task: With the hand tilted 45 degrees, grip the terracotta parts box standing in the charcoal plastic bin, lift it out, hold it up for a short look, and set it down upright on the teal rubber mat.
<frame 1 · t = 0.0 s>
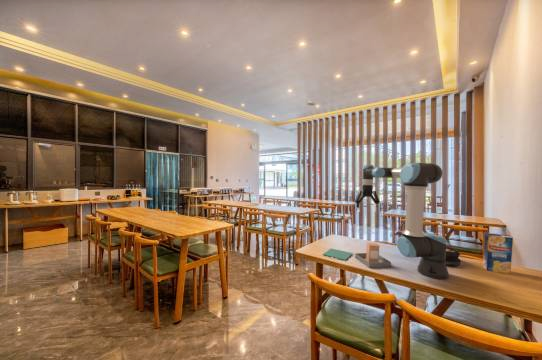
hand: (366, 211, 183), 28 cm above the table, tool pointing down, fingers open, 13 cm apart
mat: (337, 254, 166), on the table
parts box: (372, 253, 153), in the bin
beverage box: (496, 270, 145), on the table
casserole: (443, 260, 160), on the table
bin: (372, 262, 153), on the table
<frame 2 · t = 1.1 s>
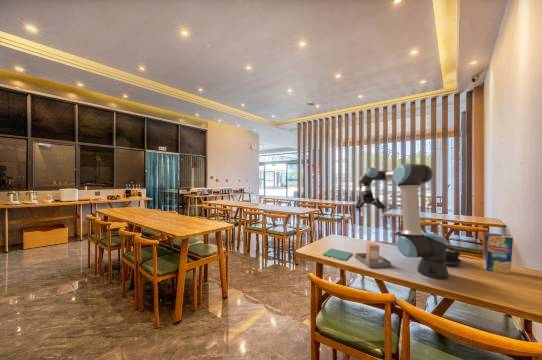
hand: (372, 216, 165), 28 cm above the table, tool tilted 45°, fingers open, 13 cm apart
nothing on the table moved.
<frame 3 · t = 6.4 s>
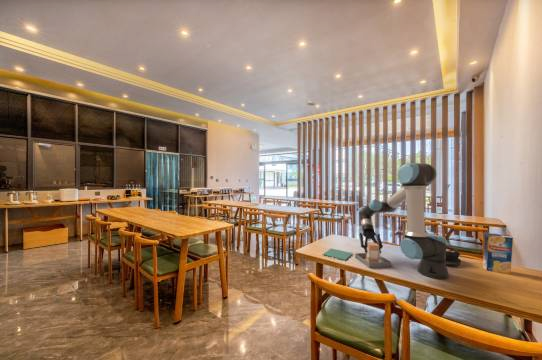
hand: (374, 257, 150), 4 cm above the table, tool tilted 45°, fingers closed on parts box, 6 cm apart
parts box: (372, 253, 153), in the bin, touching gripper
everything else where it was.
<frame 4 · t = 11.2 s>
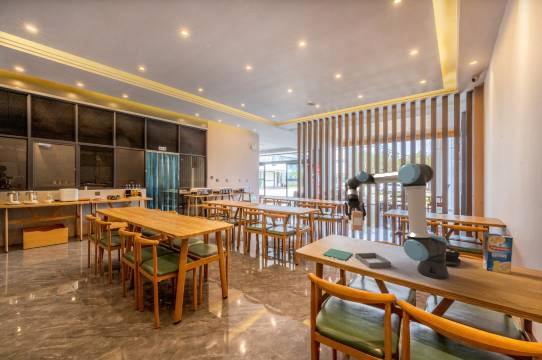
hand: (357, 224, 154), 24 cm above the table, tool tilted 45°, fingers closed on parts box, 6 cm apart
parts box: (356, 220, 158), point 26 cm above the table, touching gripper
everything else where it was.
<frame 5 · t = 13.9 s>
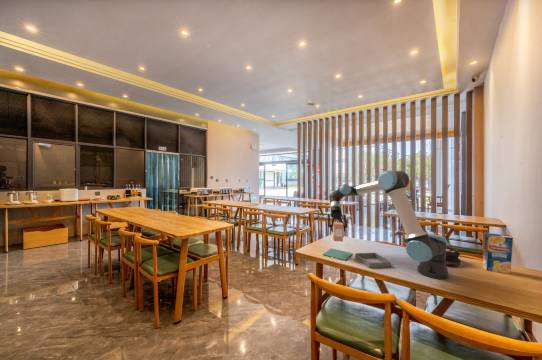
hand: (338, 235, 162), 15 cm above the table, tool tilted 45°, fingers closed on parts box, 6 cm apart
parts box: (337, 231, 166), point 16 cm above the table, touching gripper
everything else where it was.
when the fingers open (6 cm above the table, at t = 16.1 s): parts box drops 1 cm, resting on mat.
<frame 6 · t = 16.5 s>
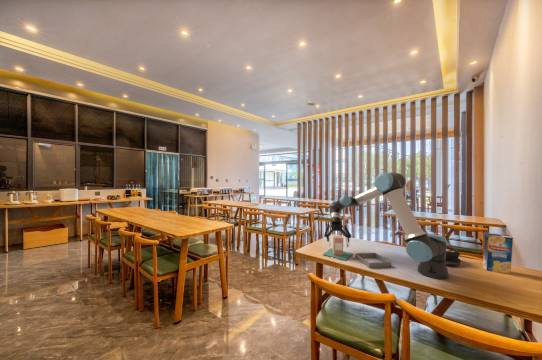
hand: (338, 246, 163), 7 cm above the table, tool tilted 45°, fingers open, 11 cm apart
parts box: (338, 245, 165), on the mat, point 7 cm above the table
everything else where it was.
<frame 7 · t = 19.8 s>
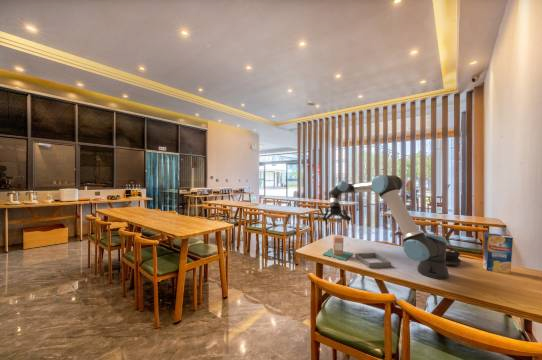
hand: (337, 228, 171), 17 cm above the table, tool tilted 45°, fingers open, 13 cm apart
nothing on the table moved.
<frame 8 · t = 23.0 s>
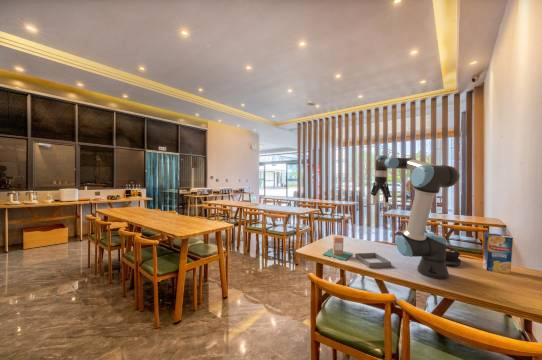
hand: (379, 205, 172), 35 cm above the table, tool pointing down, fingers open, 13 cm apart
nothing on the table moved.
at the end: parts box inside the target area on the mat (0.0 cm from its centre), point 6.8 cm above the mat's base; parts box tilted 0°; the gripper is holding nothing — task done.
